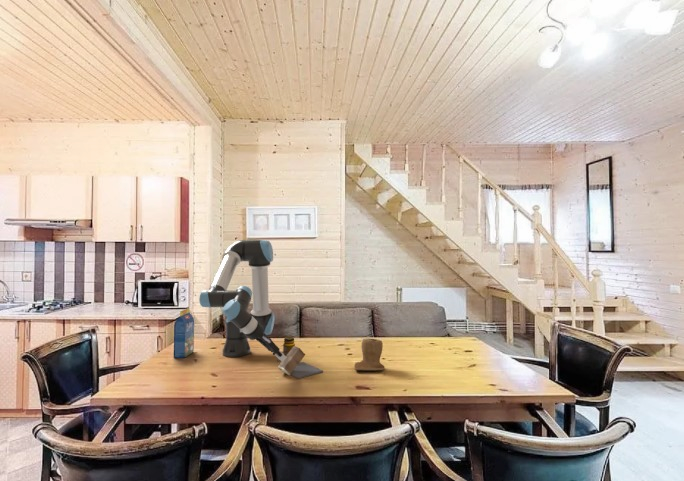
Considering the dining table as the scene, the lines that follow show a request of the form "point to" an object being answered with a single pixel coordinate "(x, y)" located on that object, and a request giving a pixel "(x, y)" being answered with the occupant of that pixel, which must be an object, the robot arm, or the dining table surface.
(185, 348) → the blue food package
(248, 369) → the dining table surface
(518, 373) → the dining table surface
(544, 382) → the dining table surface
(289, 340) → the condiment
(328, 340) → the dining table surface
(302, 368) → the mat
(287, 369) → the walnut block
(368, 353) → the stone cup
